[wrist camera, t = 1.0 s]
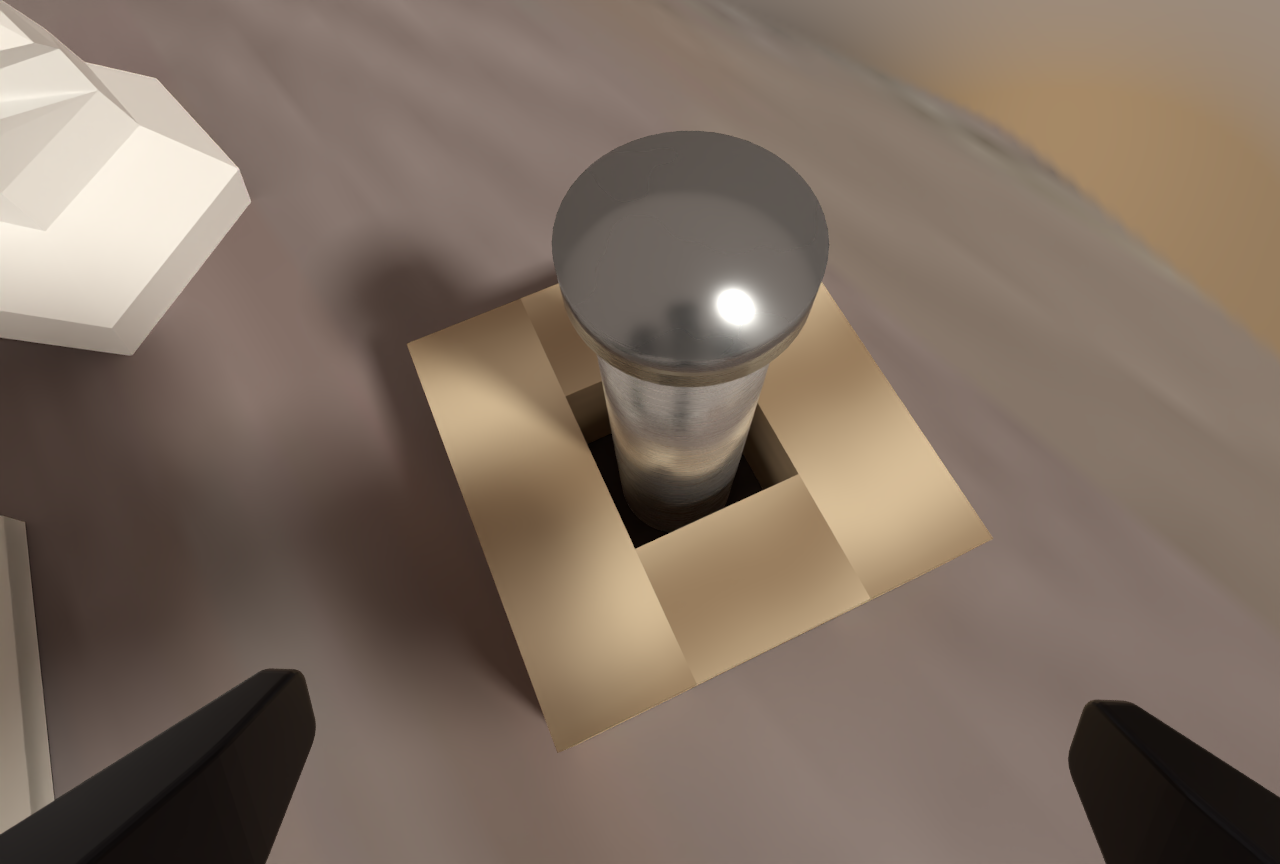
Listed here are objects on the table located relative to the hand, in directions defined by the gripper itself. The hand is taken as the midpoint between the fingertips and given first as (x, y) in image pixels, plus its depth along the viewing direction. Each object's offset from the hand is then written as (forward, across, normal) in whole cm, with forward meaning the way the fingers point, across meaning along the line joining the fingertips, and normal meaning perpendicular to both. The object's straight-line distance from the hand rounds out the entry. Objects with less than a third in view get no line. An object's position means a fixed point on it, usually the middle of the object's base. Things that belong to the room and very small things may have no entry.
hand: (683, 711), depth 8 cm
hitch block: (+14, 0, +4) cm, 15 cm away
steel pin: (+14, 0, +4) cm, 15 cm away
